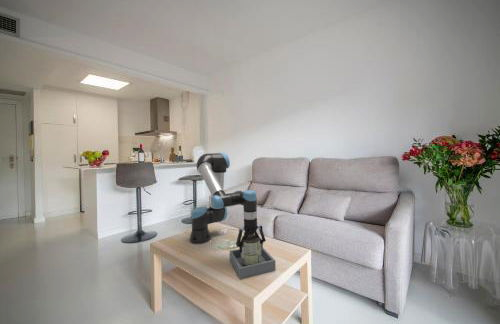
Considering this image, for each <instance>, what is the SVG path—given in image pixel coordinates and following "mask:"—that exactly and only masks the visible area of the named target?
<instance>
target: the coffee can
mask: <svg viewBox="0 0 500 324" xmlns="http://www.w3.org/2000/svg"><path fill="white" fill-rule="evenodd" d="M260 238H261V235H259V237H257V236H256V235H255V234H250V235H248V237H247V238H246V240H243V239H242V238H241V239H242V240H243V241H244V244H243V247H244V259H243V263H244V264H245V265H248V266H249V265H253V264H257V263H260Z"/></svg>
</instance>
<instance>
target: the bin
mask: <svg viewBox="0 0 500 324" xmlns="http://www.w3.org/2000/svg"><path fill="white" fill-rule="evenodd" d="M229 261H230V262H231V264H232V267H233V269H235V272H236V274H237V276H238V277H239V279H240V280H242V279H246V278H249V277H255V276H258V275H262V274H266V273H270V272H274V271H276V259H274V257H273V256H272V255H271V254H270V252H268V251H267V250H266V248H264V247H263V248H261V255H260V263H257V264H253V265H249V266H248V265H245V264H244V263H243V259H242V257H241V253H240V251H239V248H238V249H233V250H229Z"/></svg>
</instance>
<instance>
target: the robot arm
mask: <svg viewBox="0 0 500 324" xmlns="http://www.w3.org/2000/svg"><path fill="white" fill-rule="evenodd" d="M230 165H231V161H230V157H229V156H228V154H227V153H225V152H215V153H214V152H213V153H204V154H202V155H201V156H199V158H198V159H197V161H196V170H197V172H198V173H199V174H201V176H202V178H203V180H204V182H205V185H206V187H207V188H208V191H209V193H210V194H211V198H210V203H209V205H208V206H209V207H207V206H198V207H196V208H194V209H192V211H191V214H190V215H191V216H190V217H191V218H190V219H191V232H190V236H189V242H190V243H192V244H199V245H200V244H204V243H207V242H209V241H210V240H211V239H210V235H211V232H210V230H209V225H211V224H214V223H220V222H223V221H225V220H226V219H227V216H228V207H235V206H239V205H240V206H243V227H242V228H241V227H238V234H237V237H236V238H237V239H236V243H235V245H236V247H237V248H238V249H239V251H240V253H241V257H242V259H244V247H243V244H244V241H243V240H246V238H247V237H248V235H250V234H255V235H256V236H257V237H259V236H260V255H261V248H264V247H263V245H264V243H265V242H266V241H267V240H266V238H265V234H264V230H263V226H262V224H258V218H257V217H258V210H257V209H258V205H257V204H258V201H257V199H258V197H257V192H256V190H251V189H250V190H249V189H247V190H244V191H242V190H235V191H234V192H231V193H230V192H229V193H226V192H225V190H224V182H225V173H227V169H228V168H230ZM257 230H258V231H257ZM243 232H244V233H243ZM258 232H259V233H258ZM259 234H260V235H259ZM242 239H243V240H242Z"/></svg>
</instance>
